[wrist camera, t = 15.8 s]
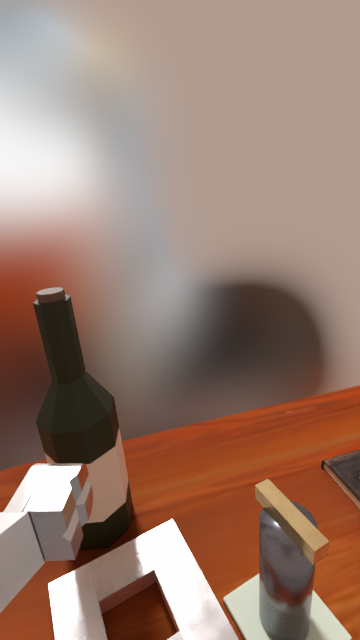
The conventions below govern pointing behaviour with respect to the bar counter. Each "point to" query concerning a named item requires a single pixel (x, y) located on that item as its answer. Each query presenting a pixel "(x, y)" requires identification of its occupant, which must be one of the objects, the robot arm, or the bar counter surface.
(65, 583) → the plate
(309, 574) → the t key
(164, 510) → the bar counter surface
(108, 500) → the wine bottle
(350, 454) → the hardcover book
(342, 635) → the coaster
